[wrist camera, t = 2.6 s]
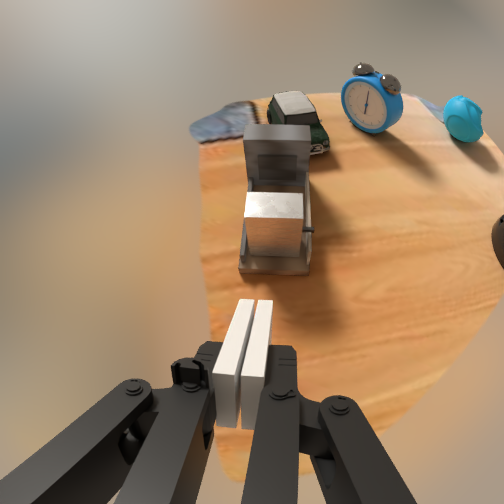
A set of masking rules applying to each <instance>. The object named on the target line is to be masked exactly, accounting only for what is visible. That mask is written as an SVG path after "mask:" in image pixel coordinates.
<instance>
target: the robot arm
mask: <svg viewBox="0 0 504 504" xmlns="http://www.w3.org/2000/svg"><path fill="white" fill-rule="evenodd" d="M492 243H493V247H494V250H495V253H496V255H497V258H498V260H499V262H500V263H501V265H502V266H503V268H504V214H503V215H502V216H501V217H500V218H499V219H498V220H497V222H496V223H495V224H494V226H493V229H492ZM272 313H273V300H258V304H257V308H256V313H255V317H254V300H252V299H240V300H239V303H238V305H237V308H236V311H235V313H234V316H233V319H232V321H231V324H230V327H229V329H228V332H227V335H226V337H225V340H224V343H223V342H212V341H207V342H205V343H204V344H202V345H201V346H200V347H199V349H198V351H197V354H196V355H195V357H194V358H183V359H179V360H177V361H175V362H174V363H173V364H172V365H171V371H172V377H173V383H174V384H173V386H172V387H171V388H164V389H152V388H151V386H150V384H149V383H148V382H146V381H145V380H142V379H129V380H125V381H123V382H122V383H120V384H119V385H118V386H116V387H115V388H114V389H113V390H112V391H110V392H109V393H108V394H107V395H106V396H104V397H103V398H102V399H101V400H100V401H98V402H97V403H96V404H95V405H94V406H92V407H91V408H90V409H89V410H87V411H86V412H85V413H84V414H83V415H81V416H80V417H79V418H78V419H76V420H75V421H74V422H73V423H71V424H70V425H69V426H68V427H67V428H65V429H64V430H63V431H62V432H60V433H59V434H58V435H57V436H55V437H54V438H53V439H52V440H50V442H48V443H47V444H46V445H44V446H43V447H42V448H41V449H39V450H38V451H37V452H36V453H34V454H33V455H32V456H31V457H29V458H28V459H27V460H25V461H24V462H23V463H22V464H20V465H19V466H18V467H17V468H15V469H14V470H13V471H12V472H10V473H9V474H8V475H7V476H5V477H4V478H3V479H1V480H0V504H107V503H108V502H109V501H110V499H111V498H112V497H113V496H114V495H115V494H116V493H117V492H118V491H119V490H120V488H121V487H122V488H121V490H120V492H119V494H118V496H117V498H116V500H115V502H114V504H195V503H196V500H197V496H198V493H199V489H200V485H201V482H202V478H203V474H204V470H205V467H206V463H207V459H208V456H209V452H210V449H211V445H212V441H213V438H214V427H213V426H214V423H215V419H216V424H217V426H221V427H230V428H236V426H237V422H238V417H239V413H240V408H241V419H242V429H251V430H254V435H253V441H252V447H251V452H250V458H249V463H248V469H247V474H246V480H245V485H244V490H243V496H242V501H241V504H297V498H298V469H299V452H300V453H304V454H308V455H310V459H311V462H312V465H313V467H314V470H315V473H316V475H317V479H318V481H319V484H320V486H321V490H322V492H323V495H324V497H325V501H326V504H417V503H416V501H415V499H414V498H413V496H412V494H411V493H410V491H409V489H408V488H407V486H406V484H405V482H404V481H403V479H402V477H401V476H400V474H399V472H398V471H397V469H396V467H395V466H394V464H393V462H392V461H391V459H390V457H389V456H388V454H387V452H386V451H385V449H384V447H383V446H382V444H381V442H380V441H379V439H378V437H377V436H376V434H375V432H374V431H373V429H372V427H371V426H370V424H369V422H368V421H367V419H366V417H365V416H364V414H363V413H362V411H361V409H360V408H359V406H358V404H357V403H356V402H355V401H354V400H353V399H351V398H349V397H345V396H341V395H338V396H330V397H327V398H325V399H324V400H323V401H322V402H321V403H319V402H315V401H312V400H309V399H307V398H305V397H303V396H302V395H301V394H300V393H299V391H298V387H297V356H296V351H295V350H294V348H293V347H292V346H286V345H271V338H272Z"/></svg>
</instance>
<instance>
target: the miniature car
mask: <svg viewBox="0 0 504 504" xmlns="http://www.w3.org/2000/svg"><path fill="white" fill-rule="evenodd" d="M268 107H269V108H268V109H267V118H268V122H269V123H272V124H275V125H309V126H310V134H311V149H310V155H313V154H318V153H323V152H325V151H329V150H330V144H329V143H330V141H329V137H328V134H327V133H326V131H325V130H324V128H323V126H322V125H321V124H320V123H321V122H322V120H319V118H318V115H317V112H316V109H315V107H314V105H313V104H312V103H311V102H310V100H309V99H308V98H307V97H306V95H305V94H304V93H303V92H299V91H286V92H282V93H278V94H275V95H273V98H272V100H271V101H270V104H269V105H268ZM318 151H320V152H318ZM311 152H314V153H311Z"/></svg>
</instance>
